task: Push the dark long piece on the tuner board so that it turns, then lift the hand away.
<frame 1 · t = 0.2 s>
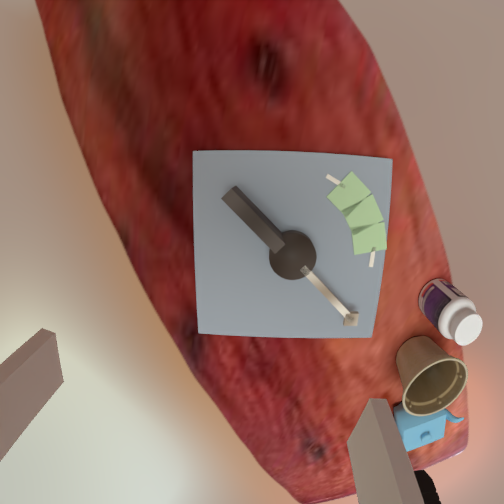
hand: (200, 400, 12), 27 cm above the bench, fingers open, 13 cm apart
dark long piece: (298, 263, 34), point 4 cm above the bench, hinge at -135.0°
teapot: (417, 405, 44), on the bench
flower pot: (414, 353, 41), on the bench
pill bottle: (434, 295, 38), on the bench
tuner board: (291, 248, 38), on the bench
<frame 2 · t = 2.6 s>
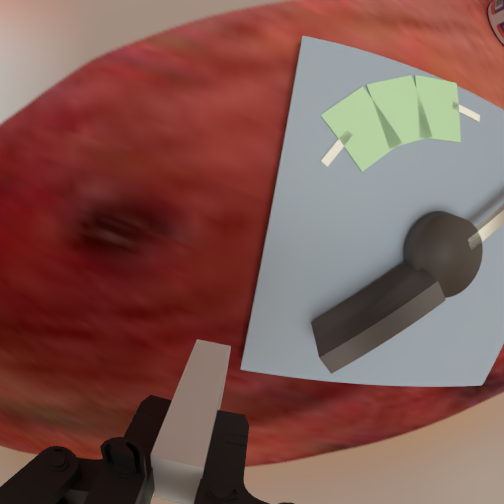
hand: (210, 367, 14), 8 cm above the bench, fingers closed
dark long piece: (462, 250, 16), point 4 cm above the bench, hinge at -135.0°
tuner board: (425, 242, 20), on the bench
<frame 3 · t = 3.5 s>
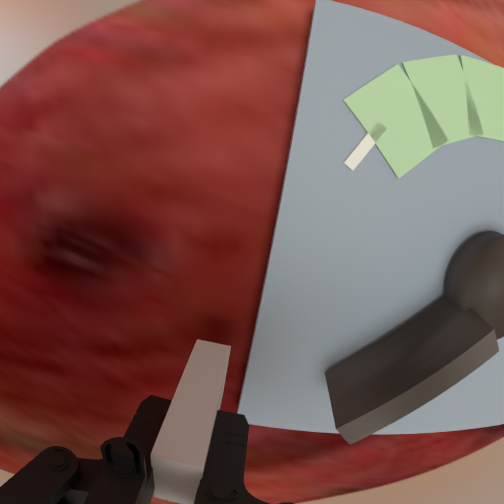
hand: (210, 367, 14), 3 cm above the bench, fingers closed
tuner board: (467, 268, 15), on the bench
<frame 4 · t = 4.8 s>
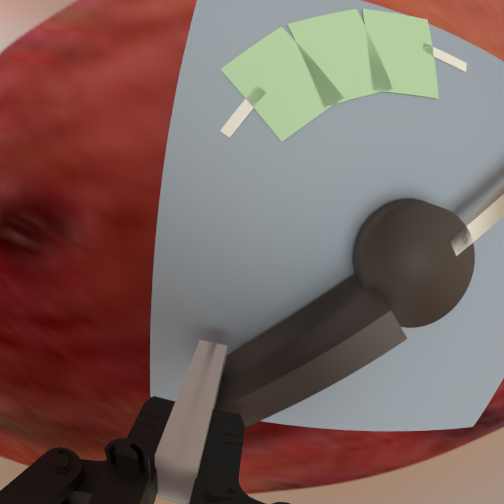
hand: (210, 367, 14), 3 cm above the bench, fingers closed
dark long piece: (442, 256, 11), point 4 cm above the bench, hinge at -132.9°, touching gripper
tuner board: (393, 244, 15), on the bench
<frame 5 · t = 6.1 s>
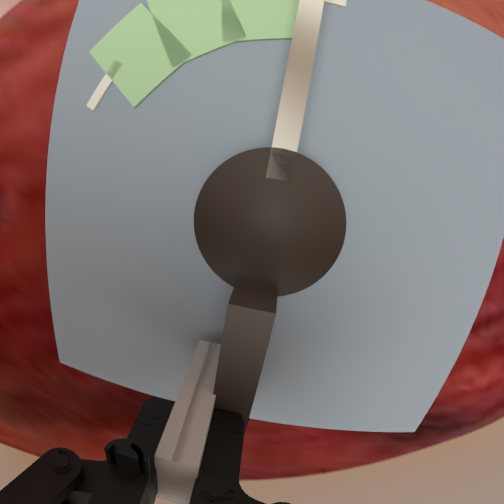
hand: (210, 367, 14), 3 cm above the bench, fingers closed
dark long piece: (274, 197, 10), point 4 cm above the bench, hinge at -90.9°, touching gripper
tuner board: (273, 207, 14), on the bench
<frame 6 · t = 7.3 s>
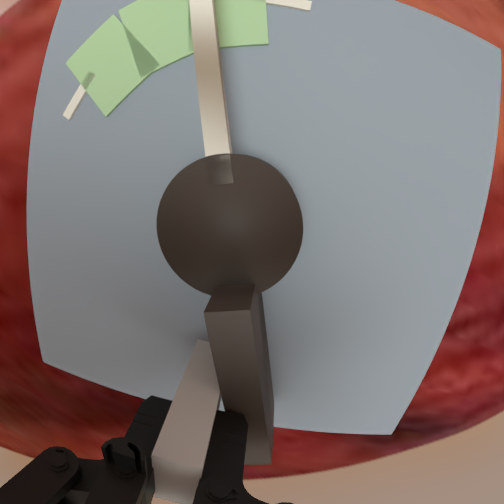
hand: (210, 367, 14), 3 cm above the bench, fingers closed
dark long piece: (223, 202, 11), point 4 cm above the bench, hinge at -73.8°
tuner board: (240, 210, 14), on the bench
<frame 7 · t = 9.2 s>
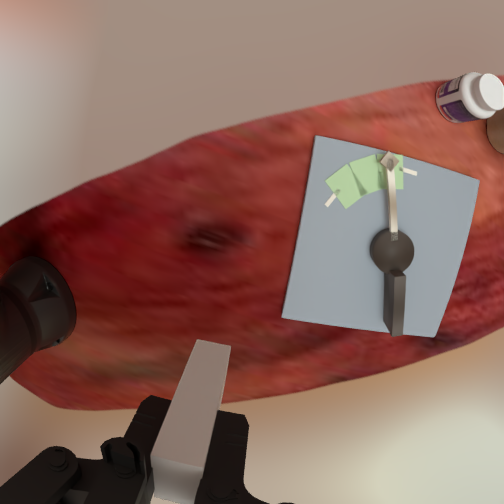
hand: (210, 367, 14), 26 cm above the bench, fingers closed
dark long piece: (394, 245, 34), point 4 cm above the bench, hinge at -73.7°
flower pot: (500, 131, 32), on the bench
pill bottle: (451, 102, 32), on the bench
tuner board: (385, 245, 38), on the bench
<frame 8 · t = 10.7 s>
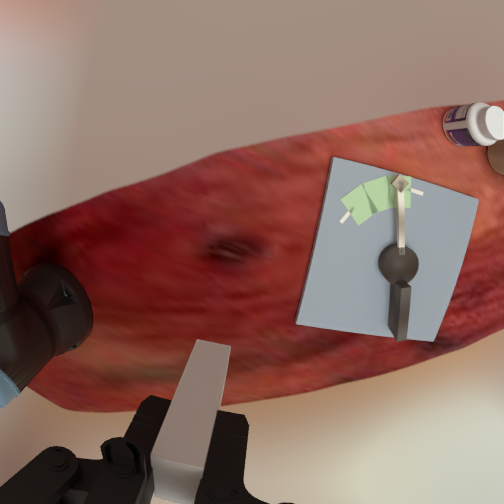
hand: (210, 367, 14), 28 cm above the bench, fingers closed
dark long piece: (401, 259, 37), point 4 cm above the bench, hinge at -73.7°
flower pot: (499, 153, 35), on the bench
pill bottle: (456, 127, 35), on the bench
tuner board: (391, 257, 41), on the bench
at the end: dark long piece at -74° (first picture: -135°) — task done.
